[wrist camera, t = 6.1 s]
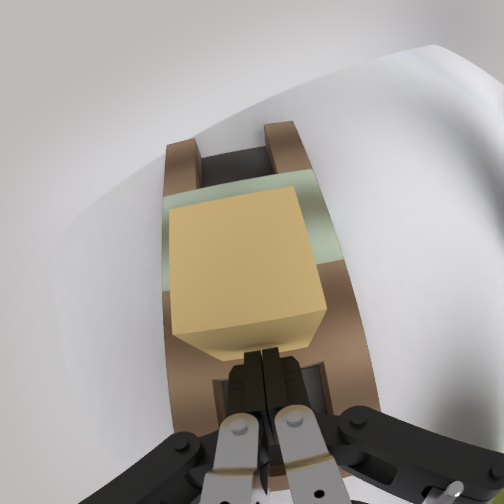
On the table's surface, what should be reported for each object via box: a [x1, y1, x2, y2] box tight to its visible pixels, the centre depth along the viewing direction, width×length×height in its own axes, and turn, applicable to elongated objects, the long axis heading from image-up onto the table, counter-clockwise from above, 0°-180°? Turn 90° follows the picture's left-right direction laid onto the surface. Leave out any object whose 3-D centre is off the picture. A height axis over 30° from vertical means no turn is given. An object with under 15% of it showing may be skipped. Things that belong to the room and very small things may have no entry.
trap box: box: [162, 121, 381, 492], centre depth 20 cm, size 28×12×3 cm, turn 8°
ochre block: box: [169, 186, 327, 361], centre depth 14 cm, size 5×5×8 cm
